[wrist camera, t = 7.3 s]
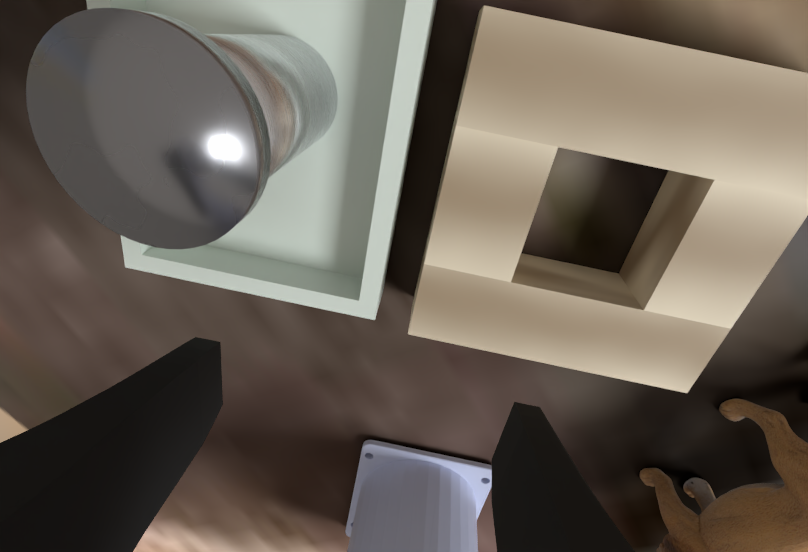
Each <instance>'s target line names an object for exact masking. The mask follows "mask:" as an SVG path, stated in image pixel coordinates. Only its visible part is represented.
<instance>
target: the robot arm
mask: <svg viewBox="0 0 808 552" xmlns="http://www.w3.org/2000/svg"><path fill="white" fill-rule="evenodd" d="M222 404H223V400H222V375H221V349H220V342H217V341H212V340H207V339H202V338H197V337H195V338H193V339H192V340H190V341H188V342H186V343H185V344H183V345H181V346H180V347H178V348H176V349H175V350H173V351H171V352H170V353H168V354H166V355H165V356H163V357H161V358H160V359H158V360H156V361H155V362H153V363H151V364H150V365H148V366H147V367H145V368H143V369H141V370H140V371H138V372H136V373H135V374H133V375H131V376H129V377H128V378H126V379H124V380H123V381H121V382H119V383H117V384H116V385H114V386H112V387H111V388H109V389H107V390H105V391H103V392H101V393H99V394H98V395H96V396H94V397H92V398H90V399H88V400H86V401H84V402H83V403H81V404H79V405H77V406H75V407H73V408H71V409H70V410H68V411H66V412H64V413H62V414H60V415H58V416H56V417H54V418H52V419H50V420H48V421H46V422H44V423H42V424H40V425H38V426H36V427H34V428H32V429H30V430H28V431H25V432H23V433H21V434H19V435H17V436H14V437H12V438H10V439H8V440H6V441H3V442H1V443H0V552H133V550H134V549H135V547H136V546H137V544H138V542H139V541H140V539H141V537H142V536H143V534H144V532H145V531H146V529H147V528H148V526H149V525H150V523H151V522H152V520H153V519H154V517H155V516H156V514H157V513H158V511H159V510H160V508H161V507H162V505H163V504H164V502H165V501H166V499H167V498H168V496H169V495H170V493H171V492H172V490H173V489H174V487H175V486H176V484H177V483H178V481H179V480H180V478H181V477H182V475H183V474H184V472H185V470H186V469H187V467H188V466H189V464H190V463H191V461H192V460H193V458H194V457H195V455H196V454H197V452H198V450H199V449H200V447H201V446H202V444H203V443H204V441H205V439H206V437H207V435H208V433H209V431H210V429H211V427H212V425H213V423H214V421H215V419H216V417H217V415H218V413H219V411H220V409H221V407H222ZM370 453H371V454H370ZM491 487H492V508H493V518H494V527H495V536H496V544H497V552H635V551H634V550H633V548H632V547H631V546H630V544H629V543H628V542H627V541H626V539H625V538H624V536H623V535H622V534H621V532H620V531H619V530H618V528H617V527H616V525H615V524H614V523H613V521H612V520H611V518H610V517H609V516H608V514H607V513H606V511H605V510H604V509H603V507H602V506H601V504H600V503H599V501H598V500H597V498H596V497H595V495H594V494H593V492H592V491H591V489H590V488H589V486H588V485H587V483H586V481H585V480H584V478H583V477H582V475H581V474H580V472H579V471H578V469H577V468H576V466H575V464H574V463H573V461H572V460H571V458H570V456H569V455H568V453H567V451H566V450H565V448H564V446H563V445H562V443H561V442H560V440H559V438H558V437H557V435H556V433H555V432H554V430H553V428H552V427H551V425H550V423H549V422H548V420H547V418H546V417H545V415H544V413H543V412H542V410H541V409H540V407H536V406H531V405H526V404H522V403H517V402H514V405H513V407H512V410H511V412H510V415H509V417H508V420H507V422H506V425H505V427H504V430H503V432H502V435H501V437H500V440H499V442H498V445H497V448H496V450H495V453H494V455H493V458H492V465H489V464H484V463H480V462H475V461H470V460H465V459H461V458H456V457H451V456H447V455H442V454H437V453H432V452H428V451H423V450H418V449H414V448H409V447H404V446H399V445H395V444H390V443H385V442H381V441H376V440H366V441H365V442H364V443H363V446H362V451H361V456H360V461H359V466H358V471H357V476H356V481H355V486H354V491H353V496H352V501H351V506H350V511H349V516H348V521H347V526H346V531H345V532H346V534H347V536H349V537H350V541H349V546H348V550H347V552H478V542H477V518H478V516H479V514H480V511H481V509H482V507H483V505H484V502H485V500H486V498H487V496H488V493H489V491H490V489H491Z"/></svg>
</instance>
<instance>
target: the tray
mask: <svg viewBox="0 0 808 552" xmlns="http://www.w3.org/2000/svg"><path fill="white" fill-rule="evenodd" d="M86 2H87V9H88V10H89V9H93V8H120V9H132V10H142V11H150V12H156V13H160V14H163V15H167V16H170V17H172V18H175V19H177V20H180V21H182V22H184V23H186V24H188V25H190V26H191V27H193V28H195V29H197V30H198V31H200V32H201V33H203V34H270V35H288V36H292V37H296V38H298V39H300V40H303V41H304V42H306V43H308V44H309V45H310V46H312V47H313V48H314V49H315V50H316V51H317V52H318V53H319V54H320V55H321V56H322V57H323V58H324V60H325V61H326V62H327V64H328V66H329V67H330V69H331V72H332V74H333V76H334V79H335V82H336V87H337V94H338V105H337V112H336V115H335V119H334V121H333V123H332V125H331V127H330V128H329V130H328V131H327V132H326V134H325V135H324V136H323V137H322V138H321V139H319V140H318V141H317V142H315V143H314V144H313V145H311V146H310V147H309V148H307V149H306V150H305V151H303V152H302V153H301V154H300V155H298V156H297V157H296V158H294V159H293V160H292V161H290V162H289V163H288V164H286V165H285V166H284V167H282V168H281V169H280V170H278V171H277V172H276V173H274V174H273V175H272V176H270V177H269V178H268V180H267V184H266V187H265V189H264V192H263V194H262V196H261V198H260V200H259V201H258V203H257V205H256V206H255V207H254V208H253V210H252V211H251V212H250V213H249V214H248V215H247V216H246V217H245V218H244V219H243V220H242V221H240V222H239V223H238V224H237V225H236V226H235V227H233V228H232V229H231V230H230V231H229V232H228V233H226V234H225V235H224V236H222V237H220V238H219V239H217V240H215V241H213V242H211V243H208V244H206V245H203V246H199V247H195V248H189V249H164V248H157V247H152V246H148V245H145V244H141V243H138V242H136V241H133V240H130V239H128V238H126V237H124V236H122V235H121V241H122V248H123V254H124V261H125V267H126V268H131V269H136V270H140V271H145V272H150V273H155V274H159V275H164V276H169V277H173V278H178V279H183V280H188V281H192V282H197V283H202V284H207V285H211V286H216V287H221V288H225V289H230V290H235V291H240V292H244V293H249V294H254V295H259V296H263V297H268V298H273V299H277V300H282V301H287V302H292V303H296V304H301V305H306V306H311V307H315V308H320V309H325V310H329V311H334V312H339V313H344V314H348V315H353V316H358V317H363V318H367V319H372V320H375V318H376V314H377V311H378V307H379V304H380V300H381V297H382V293H383V289H384V284H385V278H386V273H387V268H388V262H389V257H390V252H391V246H392V241H393V235H394V230H395V225H396V219H397V214H398V209H399V203H400V198H401V193H402V187H403V182H404V176H405V171H406V166H407V160H408V155H409V150H410V144H411V139H412V134H413V128H414V123H415V117H416V112H417V107H418V101H419V96H420V91H421V85H422V80H423V75H424V69H425V64H426V59H427V53H428V48H429V42H430V37H431V32H432V26H433V21H434V16H435V10H436V5H437V0H86Z"/></svg>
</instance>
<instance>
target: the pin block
mask: <svg viewBox="0 0 808 552" xmlns="http://www.w3.org/2000/svg"><path fill="white" fill-rule="evenodd" d="M558 147H561V148H565V149H570V150H575V151H580V152H584V153H589V154H594V155H599V156H603V157H608V158H613V159H618V160H622V161H627V162H632V163H637V164H641V165H646V166H651V167H656V168H661V169H665V170H669V171H668V173H667V175H666V177H665V179H664V181H663V183H662V185H661V187H660V189H659V191H658V193H657V195H656V197H655V199H654V202H653V204H652V206H651V208H650V210H649V212H648V214H647V216H646V218H645V220H644V222H643V224H642V226H641V228H640V230H639V232H638V235H637V237H636V239H635V241H634V243H633V245H632V247H631V249H630V251H629V253H628V255H627V257H626V259H625V261H624V263H623V266H622V268H621V270H620V272H619V274H618V273H614V272H609V271H604V270H599V269H595V268H590V267H585V266H580V265H576V264H571V263H566V262H561V261H557V260H552V259H547V258H543V257H538V256H533V255H528V254H524V253H521V252H522V249H523V246H524V243H525V241H526V238H527V235H528V232H529V229H530V226H531V223H532V221H533V218H534V215H535V212H536V209H537V206H538V203H539V201H540V198H541V195H542V192H543V189H544V186H545V183H546V181H547V178H548V175H549V172H550V169H551V166H552V163H553V161H554V158H555V155H556V152H557V149H558ZM807 215H808V73H805V72H800V71H795V70H790V69H785V68H781V67H776V66H771V65H766V64H762V63H757V62H752V61H747V60H742V59H738V58H733V57H728V56H723V55H719V54H714V53H709V52H704V51H700V50H695V49H690V48H685V47H680V46H676V45H671V44H666V43H661V42H657V41H652V40H647V39H642V38H637V37H633V36H628V35H623V34H618V33H614V32H609V31H604V30H599V29H595V28H590V27H585V26H580V25H575V24H571V23H566V22H561V21H556V20H552V19H547V18H542V17H537V16H532V15H528V14H523V13H518V12H513V11H509V10H504V9H499V8H494V7H490V6H485V5H484V6H483V7H482V8H481V9H480V10H479V14H478V18H477V23H476V27H475V31H474V36H473V40H472V44H471V49H470V53H469V58H468V62H467V66H466V71H465V75H464V79H463V84H462V88H461V93H460V97H459V101H458V106H457V110H456V114H455V119H454V123H453V128H452V132H451V136H450V141H449V145H448V150H447V154H446V158H445V163H444V167H443V171H442V176H441V180H440V185H439V189H438V193H437V198H436V202H435V206H434V211H433V215H432V220H431V224H430V228H429V233H428V237H427V241H426V246H425V250H424V255H423V259H422V263H421V268H420V272H419V276H418V281H417V285H416V290H415V294H414V299H413V305H412V311H411V317H410V323H409V330H408V334H409V335H414V336H419V337H424V338H428V339H433V340H438V341H442V342H447V343H452V344H457V345H461V346H466V347H471V348H476V349H480V350H485V351H490V352H494V353H499V354H504V355H509V356H513V357H518V358H523V359H528V360H532V361H537V362H542V363H546V364H551V365H556V366H561V367H565V368H570V369H575V370H580V371H584V372H589V373H594V374H598V375H603V376H608V377H613V378H617V379H622V380H627V381H631V382H636V383H641V384H646V385H650V386H655V387H660V388H665V389H669V390H674V391H679V392H683V393H688V391H689V390H690V389H691V387H692V386H693V384H694V383H695V381H696V380H697V378H698V377H699V375H700V374H701V372H702V371H703V369H704V368H705V366H706V365H707V363H708V362H709V360H710V359H711V357H712V356H713V354H714V353H715V352H716V350H717V349H718V347H719V346H720V344H721V343H722V341H723V340H724V338H725V337H726V335H727V334H728V332H729V331H730V329H731V328H732V326H733V325H734V323H735V322H736V320H737V319H738V317H739V316H740V315H741V313H742V312H743V310H744V309H745V307H746V306H747V304H748V303H749V301H750V300H751V298H752V297H753V295H754V294H755V292H756V291H757V289H758V288H759V286H760V285H761V283H762V282H763V281H764V279H765V278H766V276H767V275H768V273H769V272H770V270H771V269H772V267H773V266H774V264H775V263H776V261H777V260H778V258H779V257H780V255H781V254H782V252H783V251H784V249H785V248H786V246H787V245H788V244H789V242H790V241H791V239H792V238H793V236H794V235H795V233H796V232H797V230H798V229H799V227H800V226H801V224H802V223H803V221H804V220H805V218H806V217H807Z"/></svg>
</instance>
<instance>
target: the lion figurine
mask: <svg viewBox="0 0 808 552" xmlns="http://www.w3.org/2000/svg"><path fill="white" fill-rule="evenodd" d="M719 411H720V412H721V414H722V415H723V416H724V417H726V418H727V419H730V420H732V421H739V420H741V419H743V418H745V417H747V418H750V419H752V420H753V421H755V422H756V423H757V424H758V425H759V426H760V427H761V428H762V429H763V431H764V433H765V436H766V440H767V443H768V447H769V451H770V456H771V460H772V463H773V465H774V467H775V468H776V470H777V471H778V473H779V474H780V476H781V477H782V479H783V481H784V484H769V483H757V484H750V485H745V486H742V487H738V488H735V489H733V490H731V491H729V492H728V493H726V494H723V495H722V496H720V497H719V498H717V499H716V498H715V496H714V494H713V491H712V489H711V487H710V485H709V484H708V483H707V482H706V481H705V480H703V479H700V478H697V477H696V478H691V479H689V480H688V481H686V482H685V484H684V486H683V488H684V491H685V492H686V493H687V494H688V495H689V496H690V497H695V499H696V500H697V502H698V504H699V506H700V508H701V510H702V513H701V514H700V515H699V516H698V515H697V514H695V513H694V512H693V511H692V510H690V509H689V508H687V507H686V506H685V505H683V503H682V502H681V500H680V499H679V497H678V495H677V493H676V491H675V489H674V486H673V483H672V480H671V479H670V477H669V476H667V475H665V474H664V473H663V472H662V471H661V470H660V469H658V468H644V469H643V470H641V471H640V478H641V480H642V481H643V482H644V483H645V484H646V485H650V486H655V489H656V495H657V498H658V502H659V507H660V512H661V515H662V518H663V520H664V522H665V525H666V526H667V528H668V531H669V534H667V535H666V536H665V537H664V539H663V543H661V544H660V546H659V548H657V552H808V443H806V442H805V441H803V440H802V439H800V438H799V437H798V436H797V435H795V434H794V432H793V431H792V430H791V428H790V427H789V425H788V423H787V421H786V419H785V417H784V416H783V415H782V414H781V413H779V412H776V411H774V410H771V409H767V408H765V407H762V406H759V405H756V404H754V403H752V402H749V401H746V400H743V399H730V400H727V401H725V402H723V403H721V405H720V407H719Z"/></svg>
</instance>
